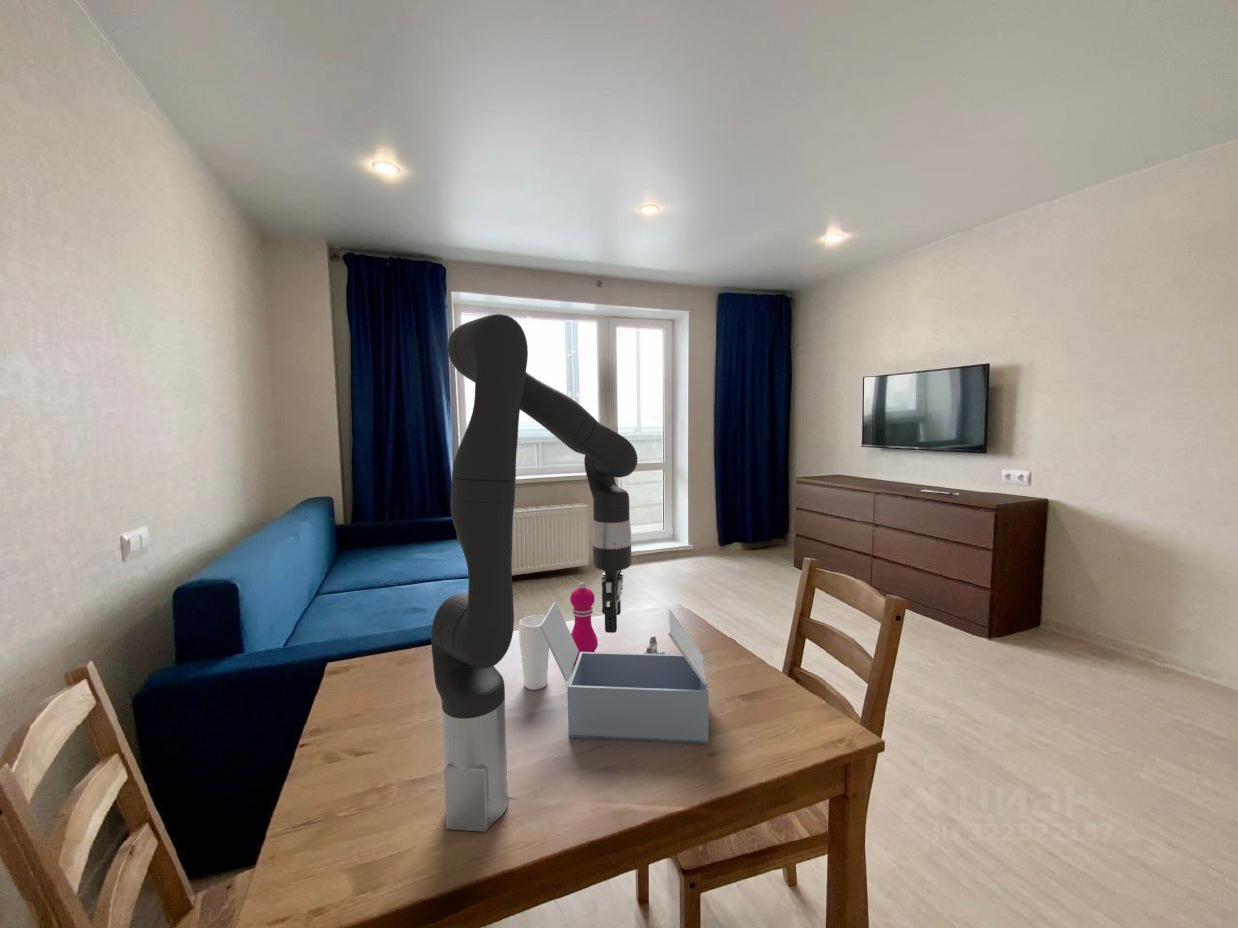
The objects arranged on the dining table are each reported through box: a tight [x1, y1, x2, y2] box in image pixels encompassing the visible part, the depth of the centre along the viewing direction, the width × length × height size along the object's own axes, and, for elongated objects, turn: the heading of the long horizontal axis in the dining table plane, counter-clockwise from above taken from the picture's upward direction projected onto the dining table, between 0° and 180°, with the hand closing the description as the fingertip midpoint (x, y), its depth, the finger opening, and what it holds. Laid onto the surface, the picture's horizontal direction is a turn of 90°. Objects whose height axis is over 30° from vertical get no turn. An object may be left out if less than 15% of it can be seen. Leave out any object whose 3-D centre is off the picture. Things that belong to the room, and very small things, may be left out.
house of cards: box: [643, 636, 666, 654], centre depth 118 cm, size 9×9×8 cm
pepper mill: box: [569, 581, 599, 666], centre depth 120 cm, size 7×7×20 cm
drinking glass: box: [518, 614, 550, 691], centre depth 109 cm, size 7×7×15 cm
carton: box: [567, 651, 710, 745], centre depth 97 cm, size 14×26×10 cm, turn 85°
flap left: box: [540, 601, 579, 682], centre depth 97 cm, size 12×12×1 cm
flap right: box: [666, 608, 708, 685], centre depth 95 cm, size 12×12×1 cm
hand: (613, 622), depth 96 cm, fingers open, 8 cm apart
